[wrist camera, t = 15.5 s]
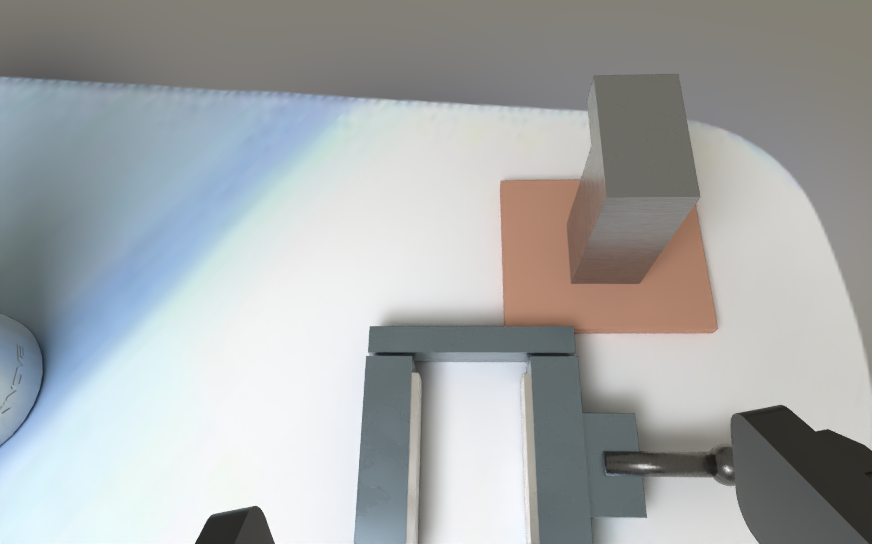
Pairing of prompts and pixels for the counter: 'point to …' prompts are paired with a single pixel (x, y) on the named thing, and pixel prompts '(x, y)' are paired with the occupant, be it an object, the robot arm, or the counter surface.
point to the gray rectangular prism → (631, 179)
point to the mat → (594, 303)
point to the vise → (541, 427)
